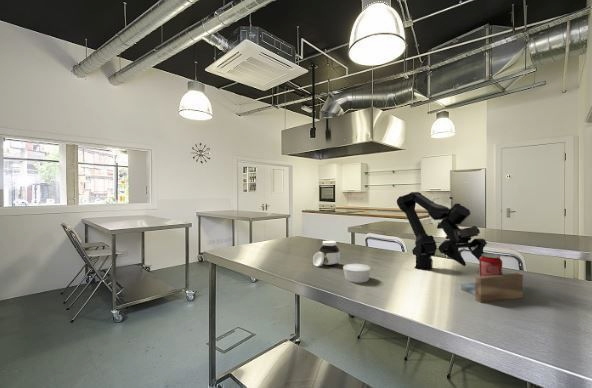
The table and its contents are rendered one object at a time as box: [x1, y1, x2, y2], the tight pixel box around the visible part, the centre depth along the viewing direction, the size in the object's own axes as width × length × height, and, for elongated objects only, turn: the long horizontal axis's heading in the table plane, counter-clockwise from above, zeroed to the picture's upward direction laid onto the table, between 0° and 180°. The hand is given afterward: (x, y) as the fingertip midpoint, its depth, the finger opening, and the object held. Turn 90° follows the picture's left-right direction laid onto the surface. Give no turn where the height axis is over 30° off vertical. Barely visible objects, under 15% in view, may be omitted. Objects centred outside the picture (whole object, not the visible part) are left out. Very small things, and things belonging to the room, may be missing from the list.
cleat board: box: [460, 272, 524, 303], centre depth 99 cm, size 12×18×8 cm, turn 103°
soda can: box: [478, 253, 503, 277], centre depth 98 cm, size 7×7×12 cm
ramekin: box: [342, 263, 371, 284], centre depth 114 cm, size 11×11×5 cm
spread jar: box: [312, 240, 341, 268], centre depth 136 cm, size 12×11×12 cm
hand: (475, 264), depth 103 cm, fingers open, 9 cm apart
